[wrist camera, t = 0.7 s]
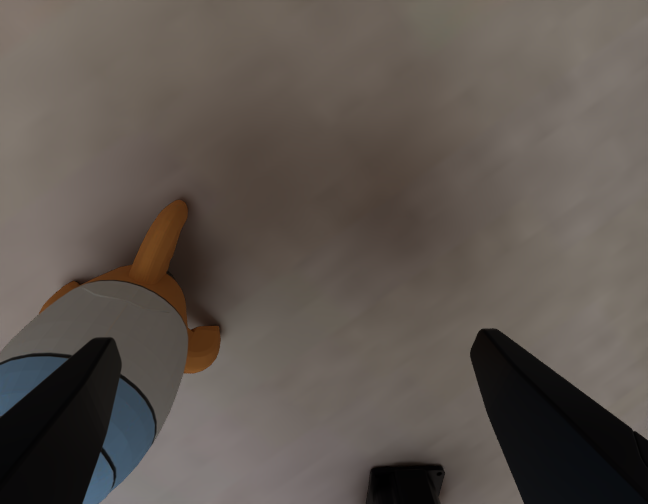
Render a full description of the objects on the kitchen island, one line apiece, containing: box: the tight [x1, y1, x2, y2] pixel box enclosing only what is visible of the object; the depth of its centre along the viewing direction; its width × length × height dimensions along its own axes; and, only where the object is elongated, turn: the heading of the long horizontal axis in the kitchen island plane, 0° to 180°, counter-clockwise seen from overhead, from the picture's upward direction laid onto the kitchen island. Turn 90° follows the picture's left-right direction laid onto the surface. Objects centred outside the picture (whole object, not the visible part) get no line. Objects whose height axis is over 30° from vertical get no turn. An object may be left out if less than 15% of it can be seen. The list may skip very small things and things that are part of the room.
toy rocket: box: [0, 200, 221, 504], centre depth 19 cm, size 10×11×15 cm
